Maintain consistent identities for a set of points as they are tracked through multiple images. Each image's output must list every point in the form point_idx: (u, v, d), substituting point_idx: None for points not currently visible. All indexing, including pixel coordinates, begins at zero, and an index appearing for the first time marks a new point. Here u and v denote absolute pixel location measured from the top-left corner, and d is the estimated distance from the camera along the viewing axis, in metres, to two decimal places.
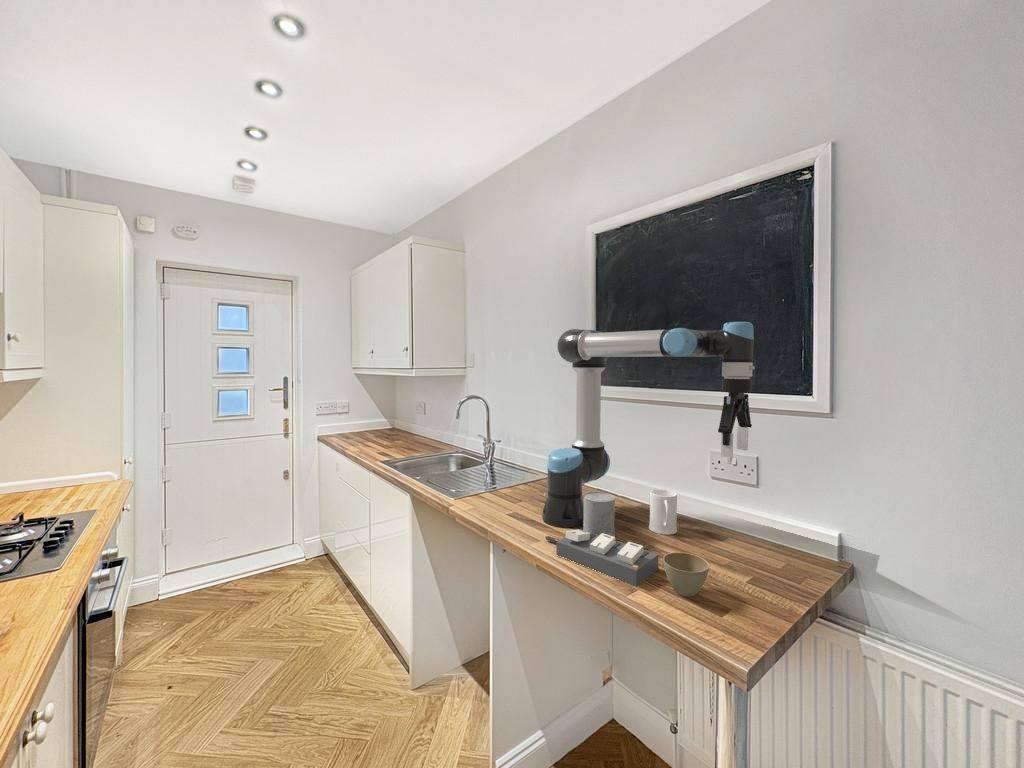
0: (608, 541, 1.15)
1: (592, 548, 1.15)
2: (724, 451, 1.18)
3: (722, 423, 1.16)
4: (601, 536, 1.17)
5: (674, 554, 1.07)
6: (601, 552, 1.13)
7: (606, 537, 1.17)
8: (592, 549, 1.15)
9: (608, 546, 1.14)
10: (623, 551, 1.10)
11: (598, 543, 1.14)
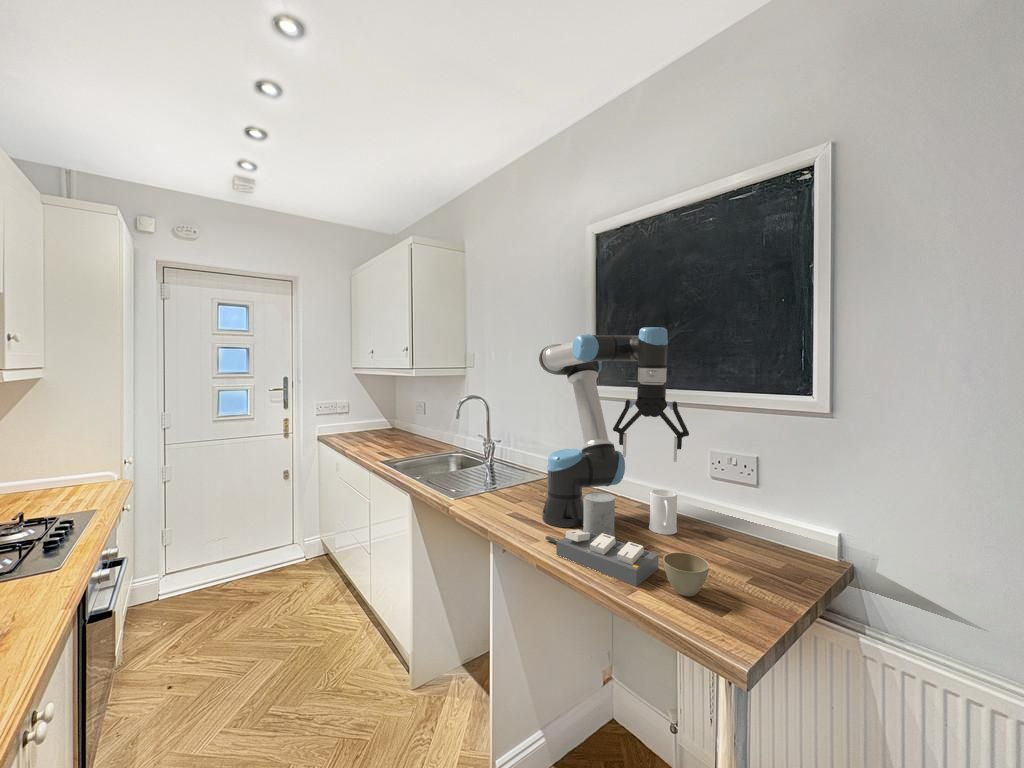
0: (608, 541, 1.15)
1: (592, 548, 1.15)
2: None
3: None
4: (601, 536, 1.17)
5: (674, 554, 1.07)
6: (601, 552, 1.13)
7: (606, 537, 1.17)
8: (592, 549, 1.15)
9: (608, 546, 1.14)
10: (623, 551, 1.10)
11: (598, 543, 1.14)
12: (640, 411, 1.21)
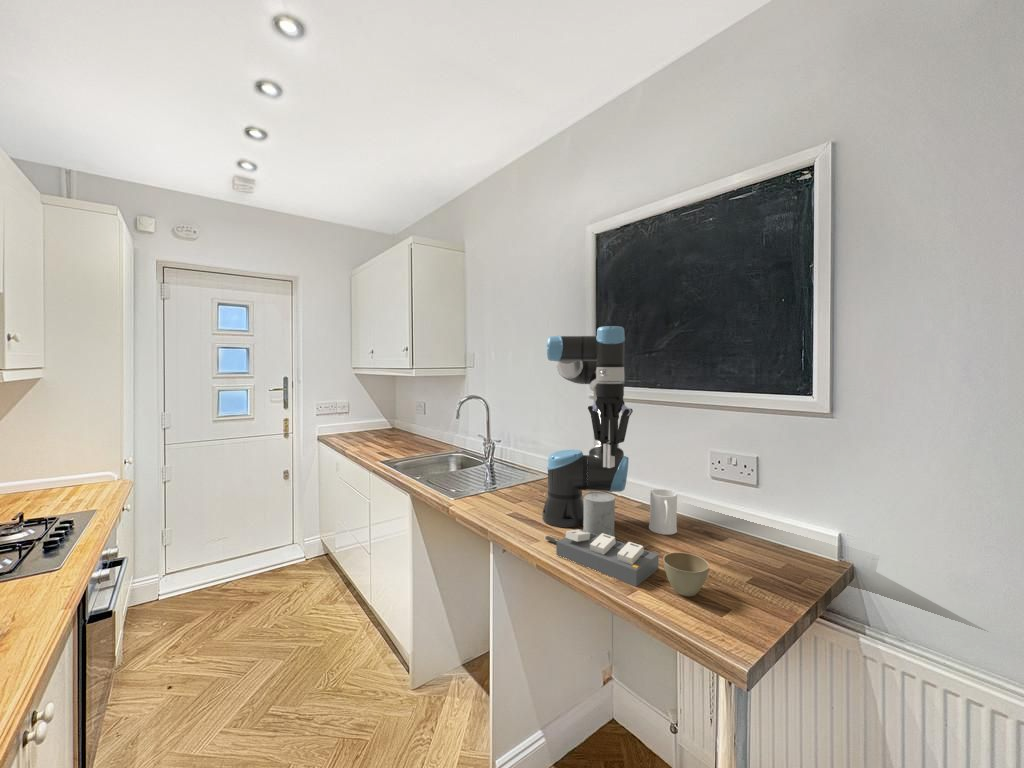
0: (608, 541, 1.15)
1: (592, 548, 1.15)
2: None
3: None
4: (601, 536, 1.17)
5: (674, 554, 1.07)
6: (601, 552, 1.13)
7: (606, 537, 1.17)
8: (592, 549, 1.15)
9: (608, 546, 1.14)
10: (623, 551, 1.10)
11: (598, 543, 1.14)
12: (601, 412, 1.21)
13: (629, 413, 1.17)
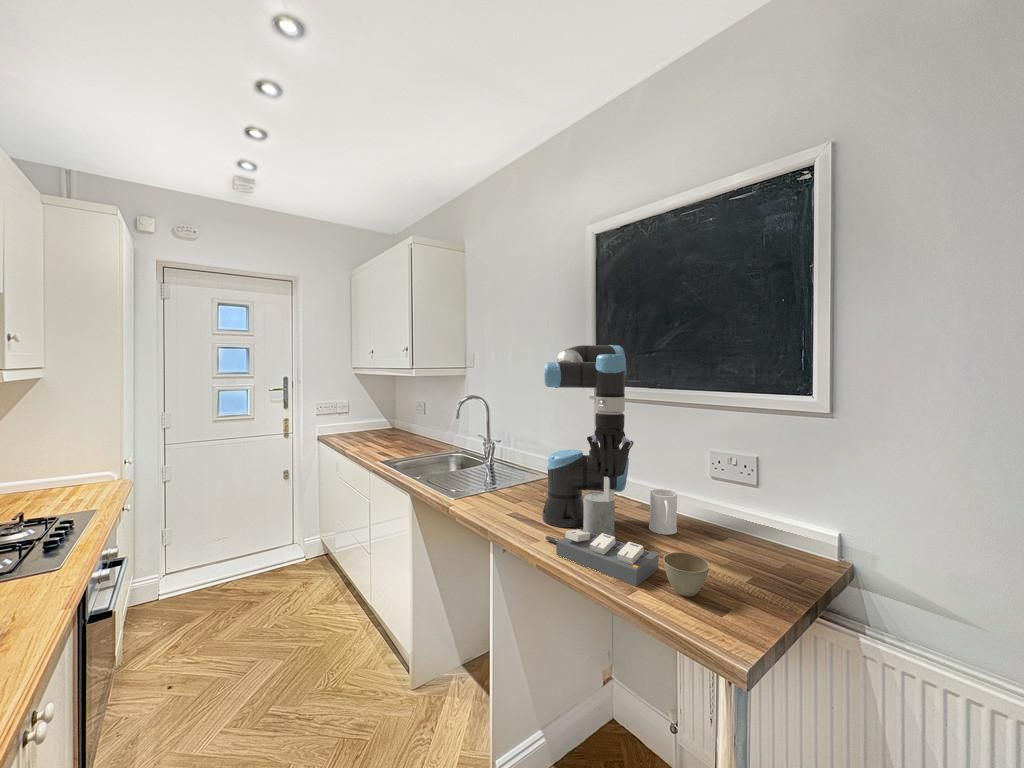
0: (608, 541, 1.15)
1: (592, 548, 1.15)
2: None
3: None
4: (601, 536, 1.17)
5: (674, 554, 1.07)
6: (601, 552, 1.13)
7: (606, 537, 1.17)
8: (592, 549, 1.15)
9: (608, 546, 1.14)
10: (623, 551, 1.10)
11: (598, 543, 1.14)
12: (601, 444, 1.16)
13: (630, 446, 1.12)
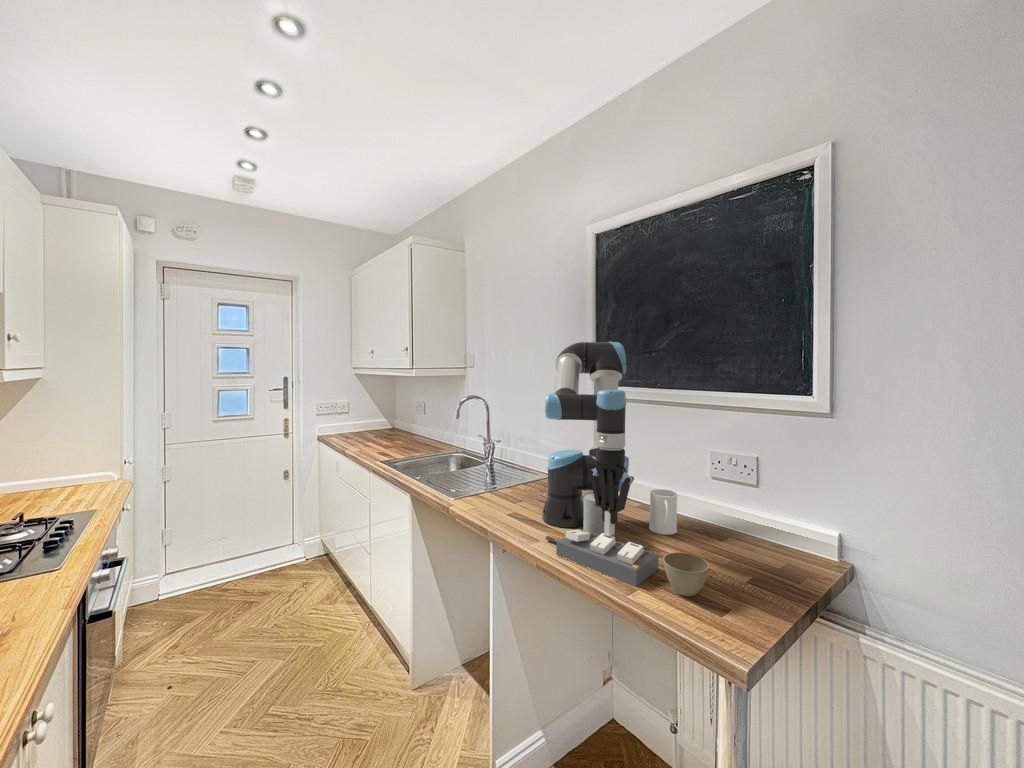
0: (608, 541, 1.15)
1: (592, 548, 1.15)
2: None
3: None
4: (601, 536, 1.17)
5: (674, 554, 1.07)
6: (601, 552, 1.13)
7: (606, 537, 1.17)
8: (592, 549, 1.15)
9: (608, 546, 1.14)
10: (623, 551, 1.10)
11: (598, 543, 1.14)
12: (602, 478, 1.17)
13: (630, 482, 1.13)
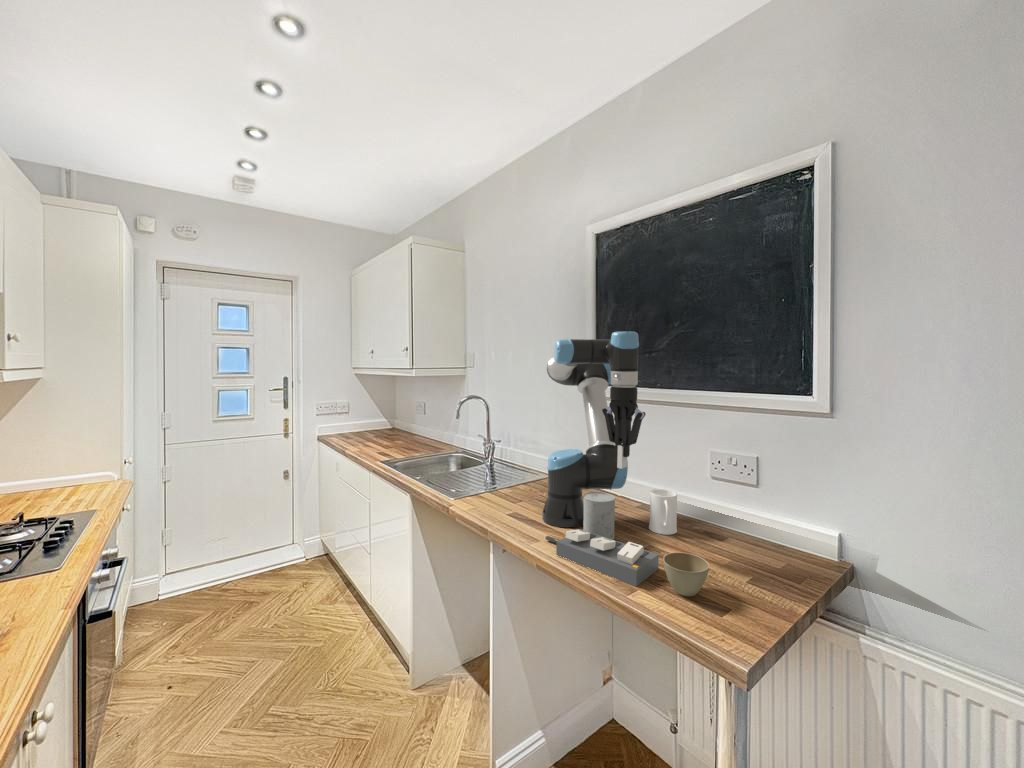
0: (609, 541, 1.15)
1: (592, 543, 1.14)
2: None
3: None
4: (602, 538, 1.18)
5: (674, 554, 1.07)
6: (601, 547, 1.13)
7: (607, 539, 1.17)
8: (592, 545, 1.14)
9: (608, 545, 1.14)
10: (623, 551, 1.10)
11: (599, 540, 1.15)
12: (615, 415, 1.25)
13: (642, 416, 1.21)
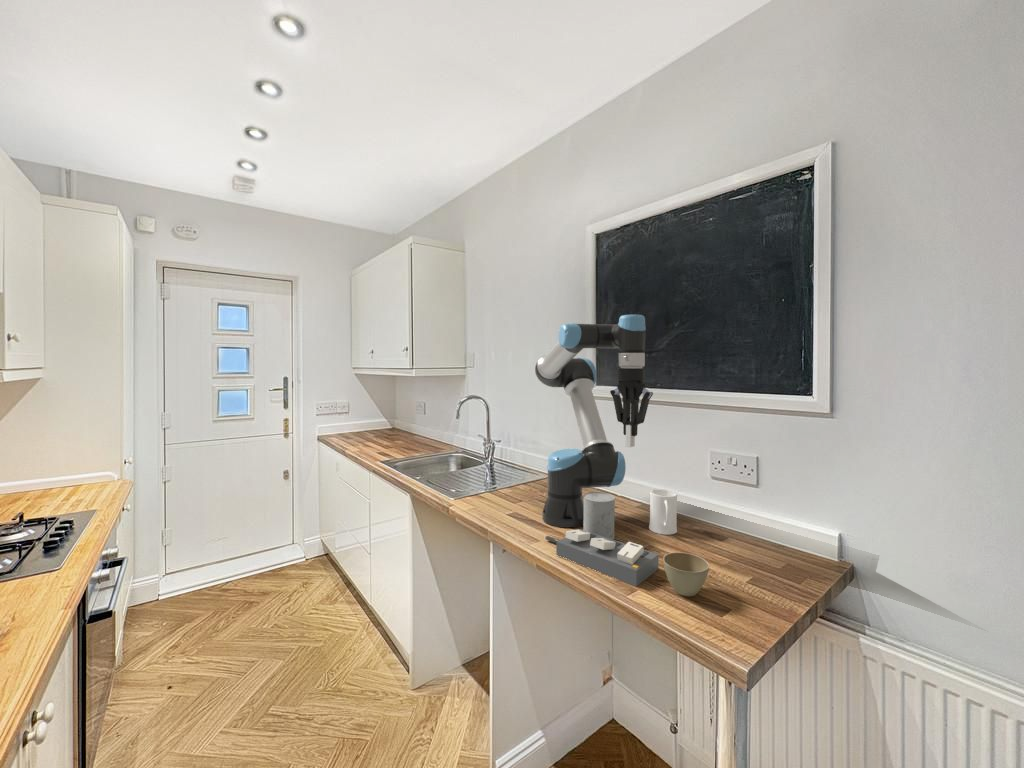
0: (609, 541, 1.15)
1: (592, 543, 1.14)
2: None
3: None
4: (602, 538, 1.18)
5: (674, 554, 1.07)
6: (601, 547, 1.13)
7: (607, 540, 1.17)
8: (592, 544, 1.14)
9: (608, 545, 1.14)
10: (623, 551, 1.10)
11: (599, 539, 1.15)
12: (623, 395, 1.29)
13: (649, 396, 1.26)
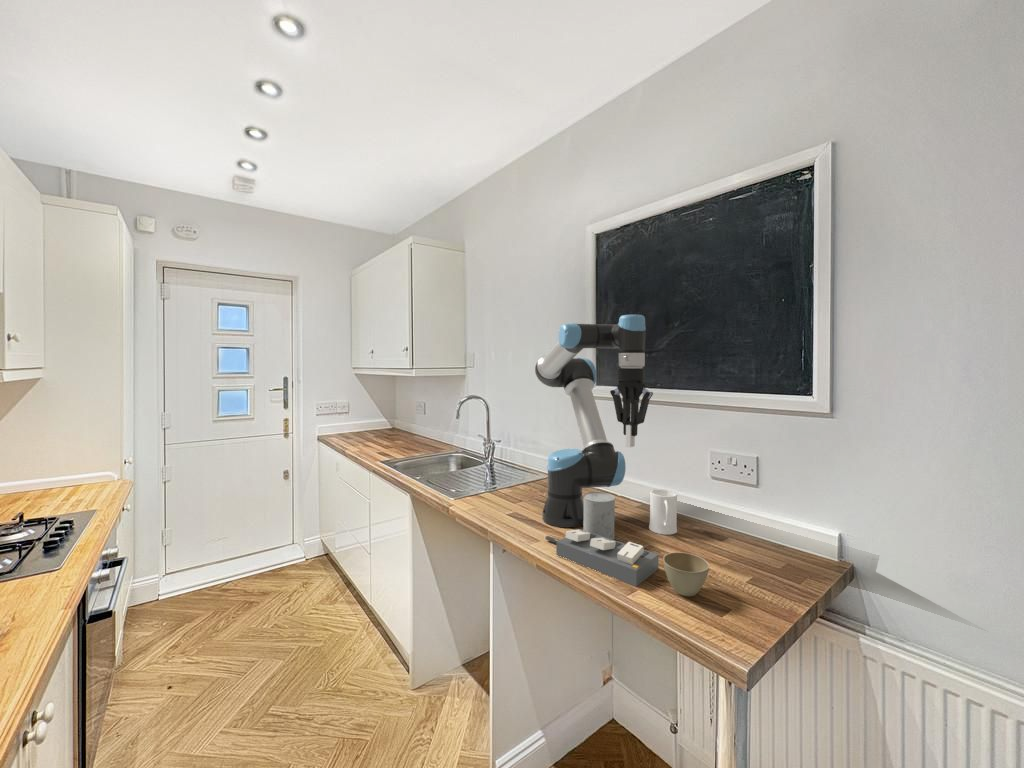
0: (609, 541, 1.15)
1: (592, 543, 1.14)
2: None
3: None
4: (602, 538, 1.18)
5: (674, 554, 1.07)
6: (601, 547, 1.13)
7: (607, 539, 1.17)
8: (592, 544, 1.14)
9: (608, 545, 1.14)
10: (623, 551, 1.10)
11: (599, 540, 1.15)
12: (623, 395, 1.29)
13: (649, 396, 1.26)
